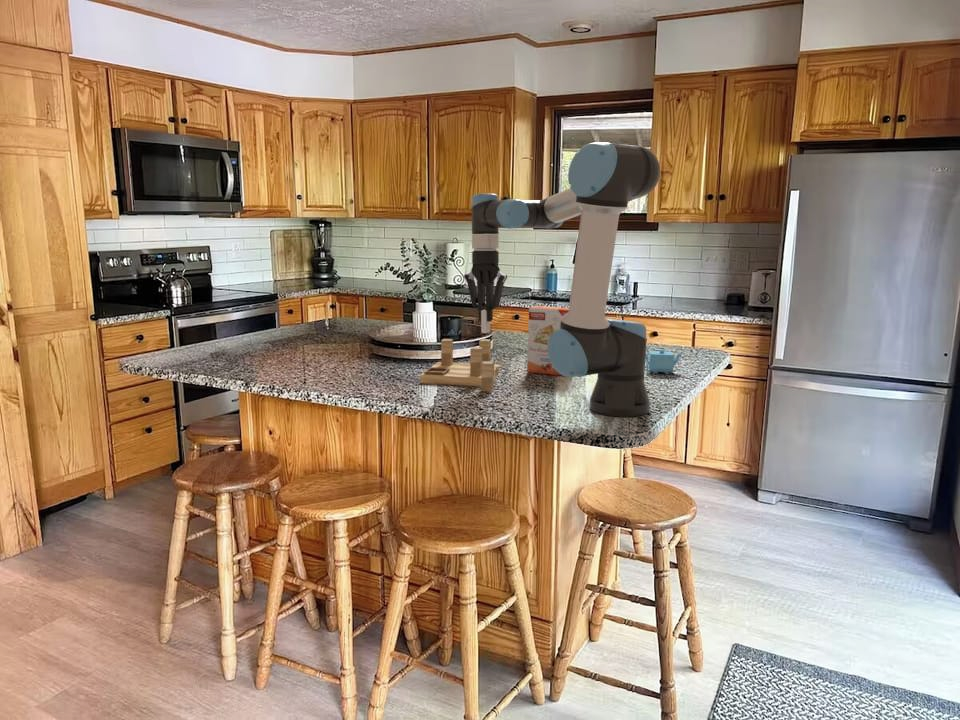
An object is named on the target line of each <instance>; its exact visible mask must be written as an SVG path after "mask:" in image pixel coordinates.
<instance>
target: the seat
mask: <svg viewBox="0 0 960 720" xmlns="http://www.w3.org/2000/svg"><path fill="white" fill-rule="evenodd" d="M440 346H441V347H440V349H441V350H440V357H441V359H440V361H438V362H437V361H436V363H435V364H433V365H432V366H430V367H428V368H427V369H426V370H425V371H423V372H422V373H421V374H420V376H419V377H420V378H419V379H420V384H428V385H429V384H431V385H432V384H433V385H447V386H448V385H450V386H468V387H469V386H470V387H481V375H482V357H483V347H479V346H472V347H471V348H470V349H469V350H470V351H469V352H470V355H469V356H470V359H469V360H470V362H454V339H453V338H443V339H441V340H440ZM491 362H494V363H495V361H494V360H492V361H491ZM499 373H500V364H494V379H495V378H496V377H497V376H498V375H499Z"/></svg>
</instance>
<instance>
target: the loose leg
mask: <svg viewBox="0 0 960 720" xmlns="http://www.w3.org/2000/svg"><path fill="white" fill-rule="evenodd" d="M494 365H495V361H494V362H489V361H483V362H482V375H481V386H480V387H481V390H480V391H481V392H491V393H493V391H494V389H495V378H494Z"/></svg>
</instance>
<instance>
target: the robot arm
mask: <svg viewBox="0 0 960 720" xmlns="http://www.w3.org/2000/svg"><path fill="white" fill-rule="evenodd" d="M567 172H568V174H567V179H568V180H567V181H568V184H569V185H570V186H569V188H567V189H564V190H562V191H560V192H558V193H555V194H553V195H550V196H548V197H546V198H543V199H540V200H538V199H537V200H535V199H534V200H533V199H532V200H527V199H525V200H523V199H518V198H517V199H516V198H508V199H501V200H499V195H498V194H496V193H476V194H473V196H472V198H471V207H470V211H471V234H472V235H471V248H472V249H473V251H472V252H471V253H472V254H471V263H472V266H471V269H470V272H468V273H467V274H466V273H465V274H464V276H463V278H464V279H465V281H466V282H467V288H468V292H469V296H470V301H471V306H472V307H473V308H475V309H477V310H478V321H479V322H481V323H480V327H481V328H480V329H481V330H480V331H481V332H480V333H481V334H488V333H491V322H493V320H494V319H493V318H494V317H493V316H494V315H493V314H494V313H493V312H494V310H495V309H497V308H499V307H500V303H501V299H502V294H503V289H504V286H505V282H506V281H507V279H508V275H507V274H504V273H503V272H501V269H500V266H499V261H500V259H499V258H500V257H499V253H500V252H499V251H498V249H499V229H510V230H511V229H547V230H548V229H549V230H550V229H554V228H555V229H556V228H559V227H561V226H562V225H563V223H565V221H568V220H571V219H572V218H575V217H578V216H580V219H579V226H578V227H579V228H578V235H577V243H576V248H575V249H576V250H575V258H574V266H573V273H572V274H573V275H572V282H571V289H570V296H569V305H568V308H569V311H568V313H566V314H565V315H564V316H563V317H562V318H561V323H560V329H558V330H555V331H554V332H553V333H552V334H551V335H550V337H549V339H548V355H549V358H550V361H551V362H552V364H553V367H554V368H555V369H556V370H557V371H558V372H559V373H560V374H561V375H563V376H564V377H567V378H582V377H585V376H591V375H596V374H597V379H596V383H595V385H594V388H593V390H592V392H591V393H592V394H591V396H590V397H589V409H590V410H591V411H593V412H595V413H597V414H601V415H604V416H610V417H625V418H626V417H630V418H631V417H639V416H644V415H646V414H648V413H650V410H651V408H650V406H651V402H650V397H649V394H648V391H647V387H646V383H645V367H646V359H645V357H646V354H647V352H646V351H647V350H646V349H647V341H648V338H647V327H646V325H645V324H644V323H642V322H638V321H632V320H626V319H625V320H624V319H618V318H617V319H616V318H608V317H607V318H606V316H605V315H606V307H607V301H608V294H609V289H610V288H609V287H610V280H611V275H612V274H611V273H612V267H613V260H614V253H615V252H614V251H615V247H616V241H617V240H616V239H617V232H618V225H619V220H620V215H621V214H622V213H623V212H624V211H625V210H627V208H628V204H629V202H631V201H634V200H636V199H641V198H642V197H645V196H647V195H649V194H651V193H652V191H653V190H655V188H656V187H657V186H658V183H659V180H660V178H661V166H660V161H659V159H658V157H657V156H656V154H655V153H654V152H653V151H652V150H650V149H649V148H647V147H645V146H641V145H636V144H635V145H634V144H632V145H631V144H621V143H612V142H607V141H604V142H600V141H599V142H590V143H587V144H585V145H583V146H581V147H580V149H579V150H578V151H577V152H576V153H575V154H574V155H573V158H572V159H571V161H570V164H569V167H568V171H567ZM496 279H497V280H496ZM475 280H476V282H475ZM495 280H496V284H495ZM494 286H495V289H494ZM561 375H560V376H561ZM563 376H562V377H563Z"/></svg>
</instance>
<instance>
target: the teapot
mask: <svg viewBox="0 0 960 720" xmlns="http://www.w3.org/2000/svg"><path fill="white" fill-rule="evenodd" d="M684 354H685V353H683V352H681V353H678V354H677V355H676V356H675V355H674V353H673V351H666V350H665V349H663V348H662V349H661V348H660V349H659V350H650V351H649V352H648V353H646V357H645V362H647V363H645V367H646V368H648V370H649V372H651V373H652V374H653V373H657V374H658V373H663V374H664V373H665V374H664V375H666V374H669V375H670V373H674V367H675V366H676V365H677V363H678V362H679V359H680V357H681V356H682V355H684ZM648 356H649V357H648Z"/></svg>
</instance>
